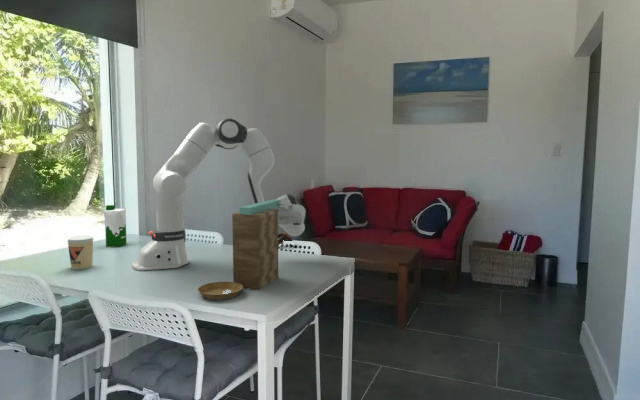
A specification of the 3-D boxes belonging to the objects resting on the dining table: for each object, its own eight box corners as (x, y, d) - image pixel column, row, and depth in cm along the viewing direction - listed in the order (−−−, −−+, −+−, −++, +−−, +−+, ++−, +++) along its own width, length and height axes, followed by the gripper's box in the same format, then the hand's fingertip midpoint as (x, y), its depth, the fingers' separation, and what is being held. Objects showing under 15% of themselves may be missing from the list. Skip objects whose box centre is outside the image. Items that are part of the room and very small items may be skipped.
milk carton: (111, 243, 237) (109, 204, 235) (129, 243, 237) (127, 204, 235) (103, 247, 228) (101, 206, 226) (121, 247, 228) (119, 206, 226)
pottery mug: (294, 250, 226) (286, 236, 224) (277, 257, 228) (269, 244, 225) (296, 239, 237) (289, 226, 235) (280, 246, 239) (272, 233, 237)
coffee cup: (63, 268, 188) (61, 239, 187) (82, 263, 197) (81, 235, 196) (81, 270, 185) (79, 240, 184) (99, 265, 194) (98, 236, 192)
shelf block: (254, 275, 179) (253, 208, 176) (278, 277, 176) (277, 209, 173) (233, 286, 164) (232, 213, 161) (259, 289, 161) (258, 215, 158)
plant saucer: (188, 298, 152) (188, 290, 152) (215, 286, 166) (215, 279, 165) (226, 305, 146) (226, 296, 146) (251, 291, 160) (251, 284, 160)
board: (272, 205, 185) (272, 199, 185) (281, 205, 184) (281, 199, 183) (239, 214, 160) (239, 207, 160) (250, 214, 159) (250, 207, 159)
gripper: (263, 207, 197) (250, 194, 185) (309, 210, 190) (298, 196, 178) (260, 221, 195) (246, 208, 183) (306, 224, 188) (295, 211, 176)
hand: (272, 202), depth 180 cm, fingers open, 5 cm apart
